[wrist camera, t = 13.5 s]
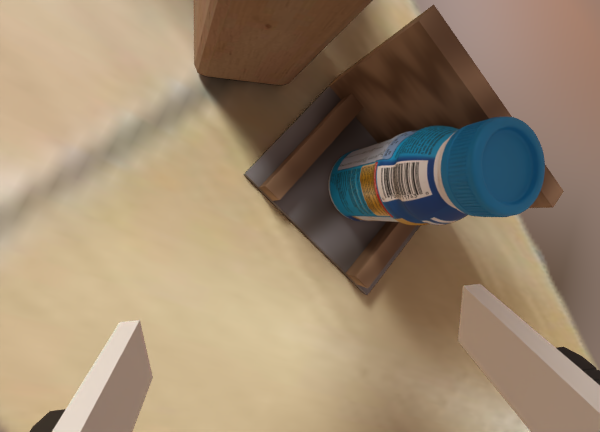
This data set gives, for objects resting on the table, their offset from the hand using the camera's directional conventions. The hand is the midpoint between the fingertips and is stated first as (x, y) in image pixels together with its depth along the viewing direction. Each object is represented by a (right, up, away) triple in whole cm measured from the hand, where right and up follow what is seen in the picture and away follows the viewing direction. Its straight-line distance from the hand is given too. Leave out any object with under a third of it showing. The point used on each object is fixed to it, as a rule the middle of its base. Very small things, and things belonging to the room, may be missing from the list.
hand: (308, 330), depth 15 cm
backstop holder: (+5, +8, +28) cm, 30 cm away
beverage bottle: (+6, +8, +28) cm, 30 cm away
